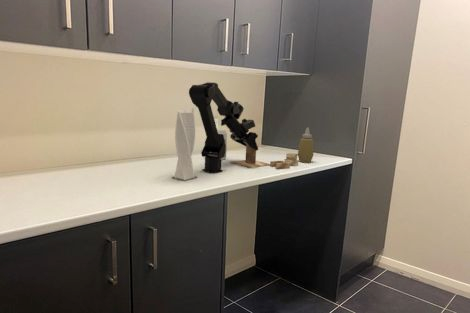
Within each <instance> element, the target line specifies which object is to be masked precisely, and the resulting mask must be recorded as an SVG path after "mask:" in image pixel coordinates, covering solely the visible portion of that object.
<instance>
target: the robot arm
mask: <svg viewBox="0 0 470 313" xmlns="http://www.w3.org/2000/svg"><path fill="white" fill-rule="evenodd" d="M188 96H189V98H190V100H191V102H192V104H193V105H194V106H195V107H196V108H198V113H199V115H200V118H201V122H202V126H203V128H204V133H205V135H206V138H205V141H204V145H203V148H202V150H201V152H200V154H201V157H204V168H202V169H201V170H202V171H204V172H206V173H210V174H215V173H222V172H223V169H222V160H221V158H223V157H224V155H225V150H226V151H227V147H226V144H225V140H224V136H223V134H218V132H217V129H218V128H217V125H216V122H215V117H214V112H213V109H212V104H211V103H212V101H213V103H214V104H215V105H216V107H217V109H216V111H217V112H218V114H219V116H221V117H222V116H223V117H224V118H222V119H221V120H220V121H221V123H220V125H221V126H226V127H227V129H228V130H229V132H230V133H231V134H230V135H229V136H230V139H231V140H232V141H233V142H236V143H238V144H240V145H242V146H244V147H246V145H247V146H249V147H251V148H253V149H255V150H256V151H258V150H259V146H258V144H256V143H257V140H256V139H257V138H258V137H259V135H258V134H257V132H254V131H253V132H252V131H250V130H251V129H253V128H255V127H256V123H255V120H254V119H247V118H243V119H242V120H241V122H240V121H239V119H240V118H241V115H242V113H243V112H244V107H243V105H242V104H240V103H239V101H234V102H233V101H231V100H228V99H227V98H226V96H225V95H224V93H223V92H222V90H221V89H220V88H219V84H218V83H217V82H209V81H207V82H204V83H202V84H192V85H191V87H190V88H189V90H188ZM210 152H211V153H210Z"/></svg>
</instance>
